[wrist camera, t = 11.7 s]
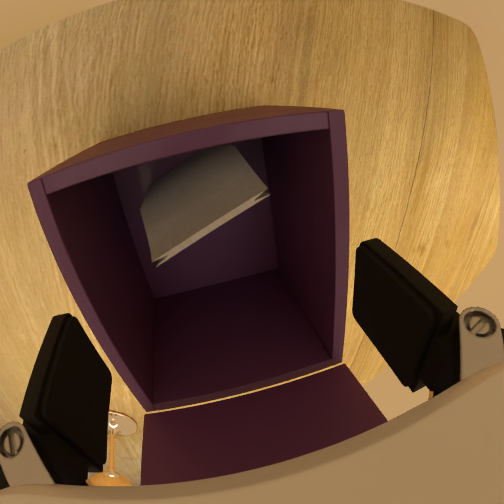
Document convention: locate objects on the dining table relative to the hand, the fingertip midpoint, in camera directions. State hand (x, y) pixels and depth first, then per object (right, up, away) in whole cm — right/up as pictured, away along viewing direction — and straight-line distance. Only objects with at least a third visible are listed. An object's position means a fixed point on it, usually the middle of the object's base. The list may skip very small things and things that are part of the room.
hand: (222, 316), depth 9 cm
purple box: (-4, +5, +16) cm, 17 cm away
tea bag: (-3, +8, +14) cm, 16 cm away
